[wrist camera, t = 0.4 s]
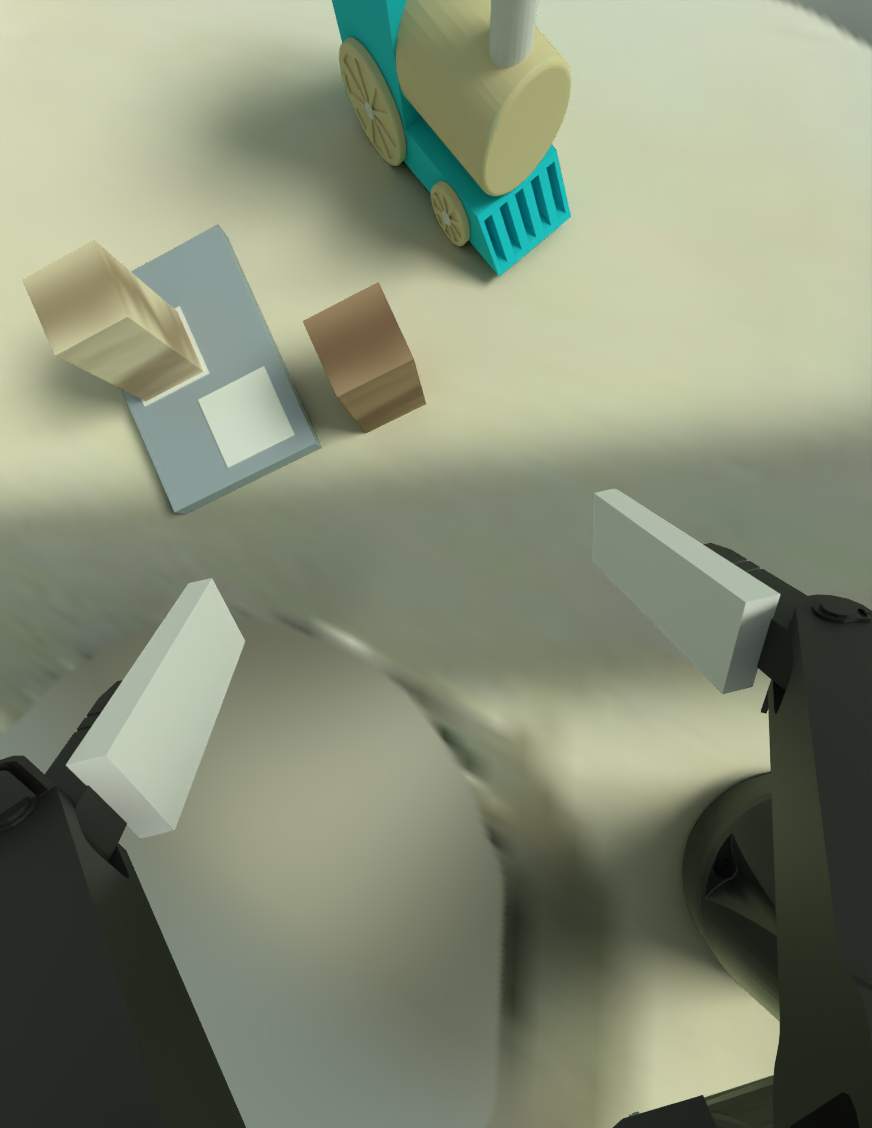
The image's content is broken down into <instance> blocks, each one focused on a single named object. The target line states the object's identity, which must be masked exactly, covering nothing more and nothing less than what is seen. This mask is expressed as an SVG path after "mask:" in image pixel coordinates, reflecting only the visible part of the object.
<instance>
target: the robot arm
mask: <svg viewBox="0 0 872 1128" xmlns="http://www.w3.org/2000/svg"><path fill="white" fill-rule="evenodd" d="M592 562H593V563H594V564H595V565H596V566H597V567H598V568H599V569H600V570H601V571H602V572H603V573H604V574H605V575H606V576H607V577H608V578H609V579H610V580H611V581H612V582H613V583H614V584H615V585H616V586H617V587H618V588H619V589H620V590H621V591H622V592H623V593H624V594H625V595H626V596H627V597H628V598H629V599H630V600H631V601H632V602H633V603H634V604H635V605H636V606H637V607H638V608H639V610H640V611H641V612H642V613H643V614H644V615H645V616H646V617H647V618H648V619H649V620H650V621H651V622H652V623H653V624H654V625H655V626H656V627H657V628H658V629H659V630H660V631H661V632H662V633H663V634H664V635H665V636H666V637H667V638H668V639H669V640H670V641H671V642H672V643H673V644H674V645H675V646H676V647H677V648H678V649H679V650H680V651H681V652H682V653H683V654H684V655H685V656H686V658H687V659H688V660H689V661H690V662H691V663H692V664H693V665H694V666H695V667H696V668H697V669H698V670H699V671H700V672H701V673H702V674H703V675H704V676H705V677H706V678H707V679H708V680H709V681H710V682H711V683H712V684H713V685H714V686H715V687H716V688H717V689H718V690H719V691H720V692H721V693H722V694H725V693H729V692H733V691H737V690H741V689H745V688H749V687H752V686H753V683H754V680H755V676H756V673H757V670H758V668H759V669H760V670H761V671H762V672H764V673H765V674H766V675H767V676H768V677H769V678H771V682H770V685H769V688H768V691H767V694H766V697H765V700H764V703H763V706H762V709H761V712H762V713H767V711H768V708H769V736H770V763H771V773H770V774H765V775H761V776H757V777H754V778H751V779H749V780H746V781H744V782H742V783H740V784H738V785H736V786H734V787H732V788H731V789H729V790H728V791H726V792H725V793H723V794H722V795H721V796H720V797H718V798H717V799H716V800H715V801H714V802H713V803H712V804H711V805H710V806H709V807H708V808H707V809H706V811H705V812H704V813H703V814H702V816H701V817H700V818H699V820H698V822H697V823H696V825H695V827H694V829H693V831H692V833H691V835H690V838H689V840H688V843H687V846H686V850H685V855H684V861H683V887H684V893H685V898H686V902H687V905H688V908H689V911H690V913H691V916H692V918H693V920H694V922H695V924H696V926H697V928H698V929H699V931H700V933H701V934H702V936H703V938H704V939H705V941H706V942H707V944H708V945H709V947H710V949H711V950H712V952H713V953H714V955H715V957H716V958H717V959H718V961H719V962H720V964H721V965H722V966H723V967H724V969H725V970H726V971H727V972H728V973H729V975H730V976H731V977H732V978H733V979H734V980H735V981H736V982H737V983H738V984H739V985H740V986H741V987H742V988H743V989H744V990H745V991H746V992H748V993H749V994H750V995H751V996H752V997H753V998H754V999H755V1000H756V1001H757V1002H759V1003H760V1004H761V1005H762V1006H763V1007H764V1008H765V1009H766V1010H767V1011H768V1012H770V1013H771V1014H772V1015H773V1016H774V1017H775V1018H776V1019H777V1020H778V1021H780V1036H779V1045H778V1050H777V1056H776V1061H775V1067H774V1075H772V1076H769V1077H766V1078H763V1079H760V1080H757V1081H754V1082H751V1083H748V1084H744V1085H741V1086H738V1087H735V1088H732V1089H729V1090H726V1091H723V1092H720V1093H717V1094H714V1095H711V1096H707V1097H703V1095H701V1096H698V1097H695V1098H691V1099H688V1100H684V1101H681V1102H678V1103H674V1104H671V1105H667V1106H664V1107H661V1108H657V1109H654V1110H650V1111H647V1112H644V1113H640V1114H639V1112H635V1113H633V1114H632V1115H629V1117H627V1118H623V1119H622V1120H621V1121H620V1122H619V1123H617V1124H616V1125H615V1126H614V1127H613V1128H872V611H871V610H870V609H868V608H867V607H865V606H864V605H862V604H859V603H857V602H854V601H852V600H849V599H846V598H841V597H837V596H832V595H811V596H807V595H805V594H804V593H802V592H800V591H799V590H797V589H795V588H794V587H792V586H790V585H789V584H787V583H785V582H784V581H782V580H780V579H779V578H777V577H775V576H774V575H772V574H771V573H769V572H767V571H766V570H764V569H760V567H759V566H757V565H756V564H754V563H752V562H751V561H747V559H746V558H744V557H742V556H741V555H739V554H737V553H736V552H734V551H733V550H731V549H728V548H725V547H722V546H718V545H715V544H712V543H708V544H704V545H703V544H701V543H700V542H698V541H697V540H695V539H694V538H692V537H690V536H689V535H687V534H686V533H684V532H683V531H681V530H680V529H678V528H676V527H675V526H673V525H672V524H670V523H669V522H667V521H665V520H664V519H662V518H661V517H659V516H658V515H656V514H655V513H653V512H651V511H650V510H648V509H647V508H645V507H644V506H642V505H640V504H639V503H637V502H636V501H634V500H633V499H631V498H630V497H628V496H626V495H625V494H623V493H622V492H620V491H619V490H617V489H611V490H606V491H602V492H597V493H594V517H593V559H592ZM244 643H245V640H244V638H243V636H242V634H241V632H240V631H239V629H238V627H237V625H236V623H235V621H234V619H233V617H232V615H231V614H230V612H229V610H228V608H227V606H226V604H225V602H224V600H223V598H222V596H221V595H220V593H219V591H218V589H217V587H216V585H215V583H214V581H213V579H212V578H211V579H206V580H202V581H197V582H193V583H188V585H187V586H186V588H185V589H184V591H183V592H182V594H181V595H180V597H179V598H178V600H177V601H176V603H175V604H174V606H173V607H172V609H171V610H170V612H169V613H168V614H167V616H166V617H165V619H164V620H163V622H162V623H161V625H160V626H159V628H158V629H157V631H156V632H155V634H154V635H153V637H152V638H151V640H150V641H149V643H148V644H147V646H146V647H145V648H144V650H143V652H142V653H141V654H140V656H139V658H138V659H137V660H136V662H135V663H134V665H133V666H132V668H131V669H130V671H129V672H128V674H127V675H126V677H125V678H124V680H122V681H117V682H116V683H115V684H114V685H113V686H112V687H110V688H109V689H108V690H107V691H106V692H105V693H104V694H103V695H102V696H101V697H100V698H99V699H98V700H97V701H96V703H95V704H94V706H93V707H92V709H91V710H90V711H89V713H88V714H87V718H84V720H83V721H82V723H81V724H80V726H79V727H78V728H77V732H75V733H74V734H73V735H72V737H71V738H70V740H69V741H68V742H67V744H66V745H65V747H64V748H63V749H62V751H61V752H60V754H59V755H58V757H57V758H56V759H55V761H54V762H53V764H52V765H51V766H50V768H49V769H48V771H47V772H46V773H45V775H44V774H43V773H42V772H41V771H40V770H39V769H38V768H37V767H36V766H34V765H33V764H32V763H31V762H30V761H29V760H28V759H27V758H26V757H25V756H11V757H8V758H5V759H2V760H0V1128H246V1127H245V1124H244V1122H243V1120H242V1117H241V1115H240V1113H239V1110H238V1108H237V1106H236V1103H235V1101H234V1099H233V1096H232V1094H231V1092H230V1090H229V1087H228V1085H227V1083H226V1080H225V1078H224V1076H223V1073H222V1071H221V1069H220V1066H219V1064H218V1062H217V1059H216V1057H215V1055H214V1053H213V1050H212V1048H211V1046H210V1043H209V1041H208V1039H207V1037H206V1034H205V1032H204V1029H203V1027H202V1025H201V1022H200V1020H199V1018H198V1015H197V1013H196V1011H195V1008H194V1006H193V1004H192V1002H191V999H190V997H189V995H188V992H187V990H186V988H185V985H184V983H183V981H182V978H181V976H180V974H179V971H178V969H177V967H176V965H175V962H174V960H173V958H172V955H171V953H170V951H169V949H168V946H167V944H166V942H165V939H164V937H163V934H162V932H161V930H160V928H159V925H158V923H157V921H156V918H155V916H154V914H153V911H152V909H151V907H150V904H149V902H148V900H147V897H146V895H145V893H144V891H143V888H142V886H141V884H140V881H139V879H138V877H137V874H136V872H135V870H134V867H133V865H132V863H131V861H130V858H129V856H128V853H127V851H126V850H125V849H124V848H123V847H122V846H121V845H120V844H118V842H119V840H120V838H121V835H122V833H123V831H124V829H125V827H126V825H127V826H128V827H129V828H130V829H131V830H132V831H133V832H134V833H135V834H136V835H137V836H138V837H139V838H140V839H142V838H147V837H151V836H155V835H159V834H163V833H166V832H171V831H175V829H176V826H177V823H178V820H179V818H180V815H181V812H182V810H183V807H184V804H185V802H186V799H187V796H188V793H189V791H190V788H191V786H192V783H193V780H194V778H195V775H196V772H197V770H198V767H199V764H200V761H201V759H202V756H203V753H204V750H205V748H206V745H207V743H208V740H209V737H210V734H211V732H212V729H213V726H214V723H215V721H216V718H217V716H218V713H219V710H220V708H221V705H222V702H223V700H224V697H225V694H226V691H227V689H228V686H229V683H230V681H231V678H232V675H233V673H234V670H235V667H236V665H237V662H238V659H239V657H240V654H241V651H242V648H243V646H244Z"/></svg>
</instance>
